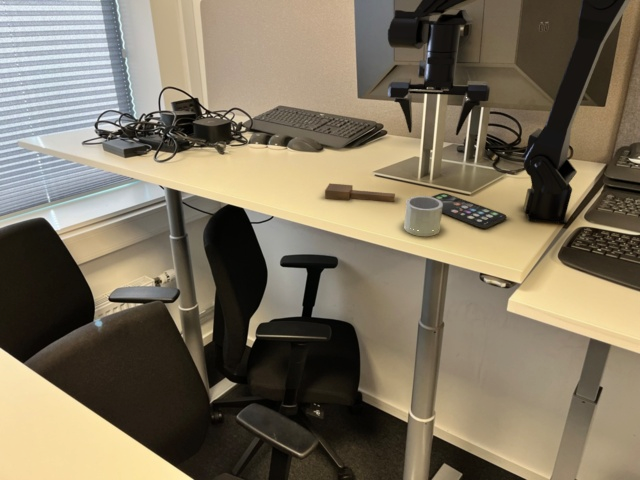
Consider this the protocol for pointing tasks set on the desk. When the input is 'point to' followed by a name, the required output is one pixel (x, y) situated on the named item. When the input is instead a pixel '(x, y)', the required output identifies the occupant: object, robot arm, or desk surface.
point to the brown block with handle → (355, 193)
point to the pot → (423, 215)
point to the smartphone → (469, 211)
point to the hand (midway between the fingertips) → (433, 133)
